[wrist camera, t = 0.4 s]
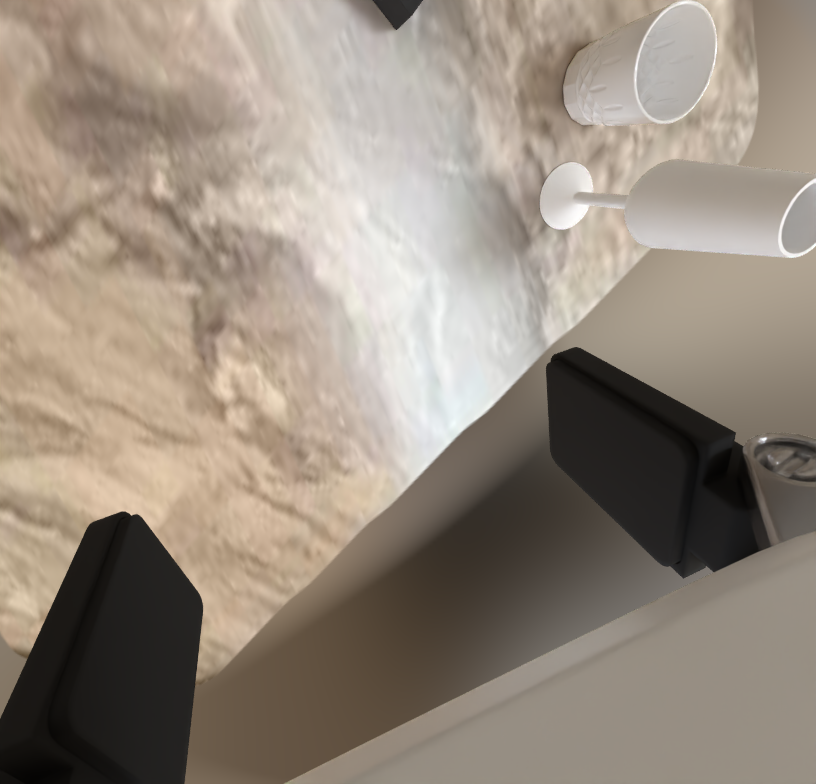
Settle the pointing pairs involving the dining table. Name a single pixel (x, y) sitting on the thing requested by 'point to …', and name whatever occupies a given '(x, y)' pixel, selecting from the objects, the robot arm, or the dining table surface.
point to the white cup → (644, 69)
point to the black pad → (397, 10)
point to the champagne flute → (698, 207)
